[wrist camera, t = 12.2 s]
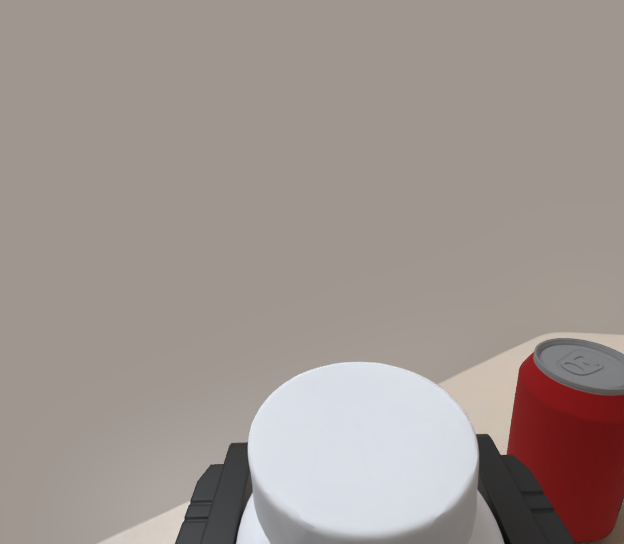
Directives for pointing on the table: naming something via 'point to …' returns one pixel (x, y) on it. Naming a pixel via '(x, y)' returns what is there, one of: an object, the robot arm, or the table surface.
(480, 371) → the table surface
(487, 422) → the table surface
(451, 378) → the table surface
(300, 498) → the pill bottle
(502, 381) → the table surface
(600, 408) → the beverage can
